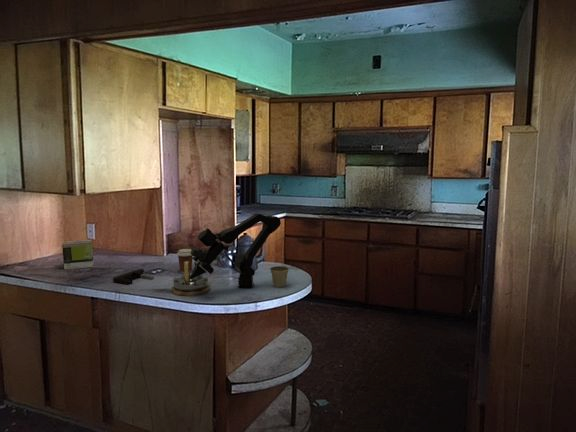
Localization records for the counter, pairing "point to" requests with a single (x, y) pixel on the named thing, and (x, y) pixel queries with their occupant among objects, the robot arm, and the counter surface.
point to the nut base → (182, 293)
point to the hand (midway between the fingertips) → (190, 278)
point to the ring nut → (190, 281)
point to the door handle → (131, 277)
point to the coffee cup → (184, 258)
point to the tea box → (77, 254)
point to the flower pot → (279, 275)
